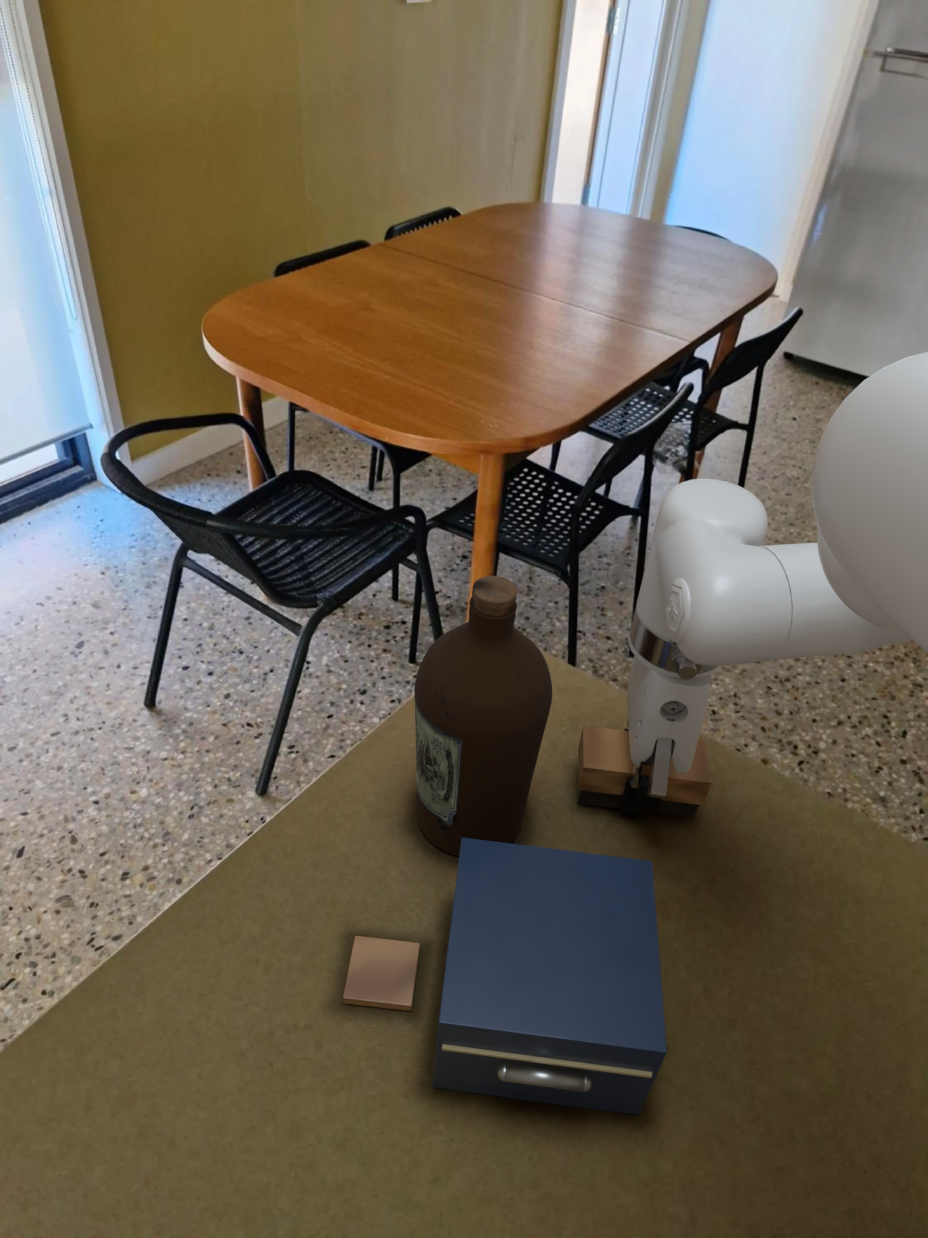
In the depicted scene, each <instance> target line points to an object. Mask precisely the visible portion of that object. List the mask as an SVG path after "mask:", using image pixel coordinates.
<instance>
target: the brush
mask: <svg viewBox="0 0 928 1238" xmlns="http://www.w3.org/2000/svg"><path fill="white" fill-rule="evenodd" d="M707 749H708V748H707V741H706V740H705V739H698V743H697V746H696V750H695V754H694V757H693V761H692V764H691V767H690V769H689V771H688V772H686V773H685V774H683V773H676V771H675V768H674V764H673V760H672V758H671V763H670V768H669V774H668V782H667V791H666V797H665V798H661V801H660V804H659V807H658V810H657V813H656V814H664V815H671V816H672V815H673V816H680V817H686V818H687V817H688V818H695V817H696V815H697V812H698V809H699V806H704V805H705V804H706V803H705V802H706V800H707V797H708V795H709V792H710V789H711V786H712V783H713V781H712V776H711V775H712V774H711V768H710V762H709V755H708V750H707ZM577 765H578V766H577V799H578V800H577V802H578V804H581V805H592V806H599V807H605V808H615V809H620V802H621V799H622V795H623V791H624V788H625V784H626V780H627V777H629V778H631V777H632V771H633V766H634V764H633V763H632V761H631V756H630V745H629V731H624V729H623V730H622V729H614V728H606V727H597V726H589V725H583V726H582V729H581V734H580V738H579V743H578V748H577ZM650 773H651V766H649V765H643V767H642V772H641V775H648V776H650Z"/></svg>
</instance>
